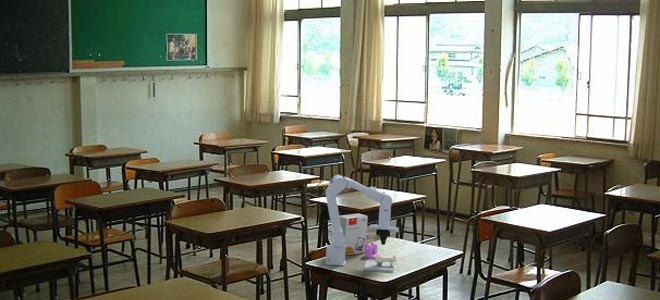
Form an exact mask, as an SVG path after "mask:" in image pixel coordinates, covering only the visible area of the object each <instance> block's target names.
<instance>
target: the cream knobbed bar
mask: <svg viewBox="0 0 660 300" xmlns="http://www.w3.org/2000/svg"><path fill="white" fill-rule="evenodd" d="M381 255H382V254H380V255H377V256H376V259H375V262H376V263H383V262H390V260H391V258H393V263H397V257H396V256H387V257H384V256H385V255H383V256H381Z"/></svg>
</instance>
